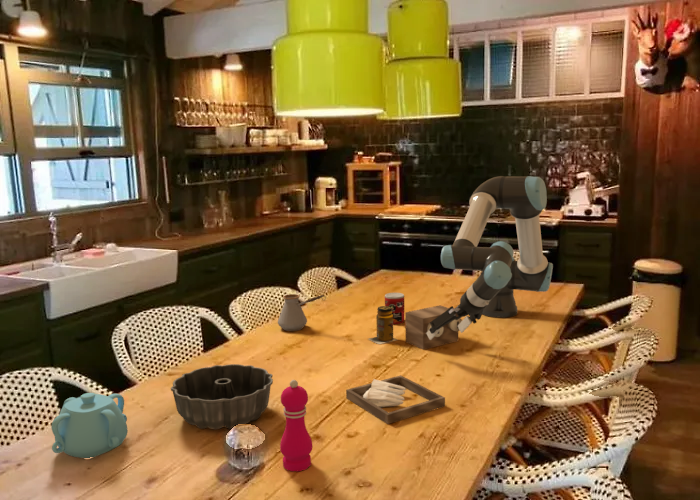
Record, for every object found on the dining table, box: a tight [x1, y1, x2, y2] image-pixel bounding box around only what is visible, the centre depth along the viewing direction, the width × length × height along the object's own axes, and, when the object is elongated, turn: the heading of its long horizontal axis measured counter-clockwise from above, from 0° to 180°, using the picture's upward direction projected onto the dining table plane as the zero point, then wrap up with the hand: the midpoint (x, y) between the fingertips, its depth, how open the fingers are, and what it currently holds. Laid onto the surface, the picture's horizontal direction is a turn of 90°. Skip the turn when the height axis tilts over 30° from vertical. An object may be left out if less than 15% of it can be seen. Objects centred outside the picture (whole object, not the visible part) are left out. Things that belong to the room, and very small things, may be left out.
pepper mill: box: [279, 379, 314, 472], centre depth 139 cm, size 7×7×20 cm
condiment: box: [368, 305, 399, 345], centre depth 226 cm, size 7×8×12 cm
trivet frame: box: [345, 374, 446, 425], centre depth 173 cm, size 19×20×2 cm
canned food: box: [384, 292, 405, 325], centre depth 249 cm, size 8×8×11 cm
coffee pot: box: [277, 293, 327, 332], centre depth 240 cm, size 21×12×15 cm, turn 58°
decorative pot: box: [51, 392, 129, 459], centre depth 149 cm, size 16×16×14 cm
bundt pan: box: [170, 363, 274, 430], centre depth 166 cm, size 26×26×10 cm
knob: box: [427, 323, 444, 337], centre depth 220 cm, size 5×15×5 cm, turn 32°
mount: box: [404, 304, 463, 350], centre depth 222 cm, size 16×13×11 cm
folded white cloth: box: [362, 378, 407, 408], centre depth 173 cm, size 12×4×11 cm
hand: (444, 332), depth 211 cm, fingers open, 13 cm apart
